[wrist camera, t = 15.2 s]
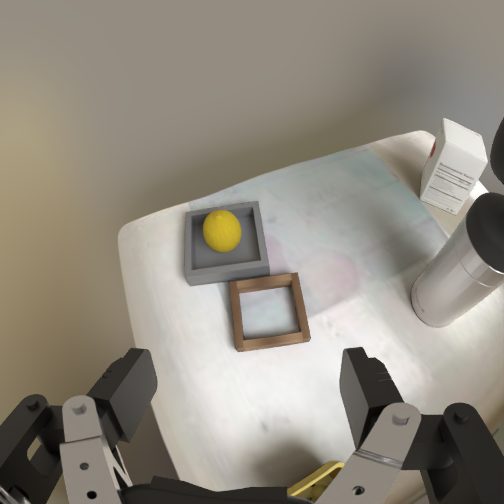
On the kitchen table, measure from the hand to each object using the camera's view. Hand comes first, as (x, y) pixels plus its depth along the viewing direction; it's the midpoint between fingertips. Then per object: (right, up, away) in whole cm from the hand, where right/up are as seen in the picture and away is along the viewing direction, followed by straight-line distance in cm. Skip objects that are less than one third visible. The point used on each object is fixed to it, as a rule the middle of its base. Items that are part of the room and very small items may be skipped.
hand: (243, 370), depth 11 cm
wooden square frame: (+3, -4, +29) cm, 29 cm away
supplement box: (+38, +17, +38) cm, 56 cm away
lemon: (-4, +6, +35) cm, 35 cm away
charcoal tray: (-4, +6, +35) cm, 36 cm away
